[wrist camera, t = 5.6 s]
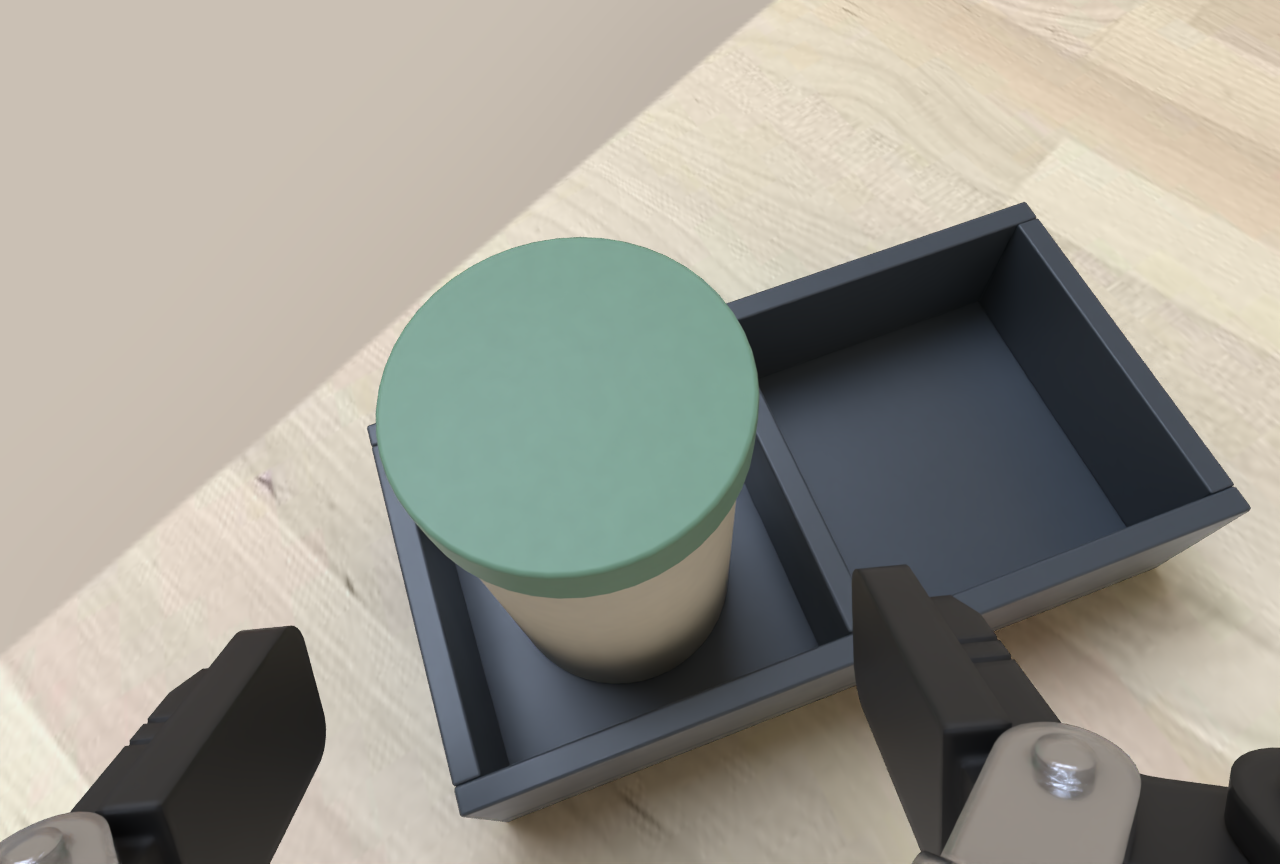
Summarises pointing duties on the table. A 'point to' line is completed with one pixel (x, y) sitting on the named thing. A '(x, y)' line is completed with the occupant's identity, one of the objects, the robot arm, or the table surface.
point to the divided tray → (853, 506)
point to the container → (578, 446)
